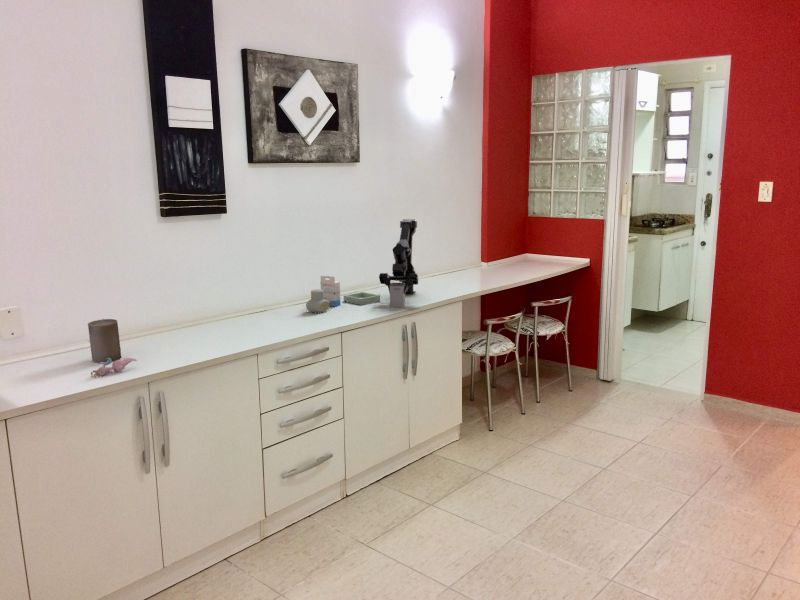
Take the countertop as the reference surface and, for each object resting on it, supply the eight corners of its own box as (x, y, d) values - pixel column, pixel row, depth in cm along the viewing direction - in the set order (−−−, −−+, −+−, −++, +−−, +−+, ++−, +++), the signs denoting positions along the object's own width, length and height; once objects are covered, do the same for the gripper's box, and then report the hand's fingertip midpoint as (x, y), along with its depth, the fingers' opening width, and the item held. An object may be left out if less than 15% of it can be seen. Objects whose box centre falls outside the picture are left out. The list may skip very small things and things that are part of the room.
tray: (362, 297, 342) (362, 291, 341) (380, 301, 333) (380, 295, 332) (343, 301, 333) (343, 295, 332) (360, 305, 324) (360, 299, 323)
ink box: (341, 305, 325) (340, 275, 322) (335, 307, 320) (334, 276, 317) (326, 303, 329) (325, 274, 326) (320, 305, 324) (319, 275, 321)
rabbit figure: (98, 383, 215) (141, 366, 225) (93, 366, 213) (137, 349, 223) (90, 379, 220) (133, 362, 230) (85, 362, 218) (129, 346, 228)
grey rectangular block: (391, 304, 324) (391, 282, 322) (405, 305, 323) (404, 282, 321) (389, 307, 318) (389, 284, 316) (403, 307, 317) (403, 285, 315)
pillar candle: (124, 354, 242) (120, 314, 239) (117, 362, 233) (113, 320, 230) (96, 356, 241) (91, 316, 238) (88, 364, 232) (83, 322, 229)
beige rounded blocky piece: (317, 314, 304) (316, 293, 302) (303, 312, 309) (302, 291, 307) (332, 310, 313) (331, 289, 311) (318, 308, 318) (317, 287, 316)
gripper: (379, 256, 322) (375, 283, 313) (417, 257, 319) (414, 283, 310) (382, 270, 331) (378, 296, 323) (419, 270, 328) (416, 297, 320)
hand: (396, 293), depth 319 cm, fingers closed on grey rectangular block, 7 cm apart
